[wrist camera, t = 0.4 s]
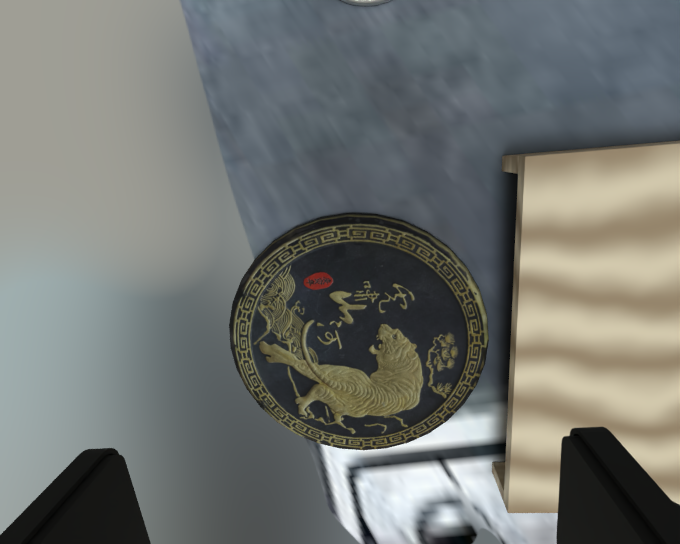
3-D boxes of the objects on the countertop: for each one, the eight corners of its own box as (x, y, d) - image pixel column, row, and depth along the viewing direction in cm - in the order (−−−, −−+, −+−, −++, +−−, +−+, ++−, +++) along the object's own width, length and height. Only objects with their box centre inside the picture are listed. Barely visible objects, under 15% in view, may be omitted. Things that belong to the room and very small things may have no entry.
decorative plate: (207, 223, 42) (497, 206, 39) (214, 220, 44) (492, 203, 41) (246, 452, 51) (485, 452, 48) (251, 442, 53) (481, 441, 50)
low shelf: (502, 155, 39) (525, 156, 33) (720, 137, 37) (783, 134, 32) (492, 471, 50) (508, 513, 45) (658, 469, 48) (697, 512, 43)
